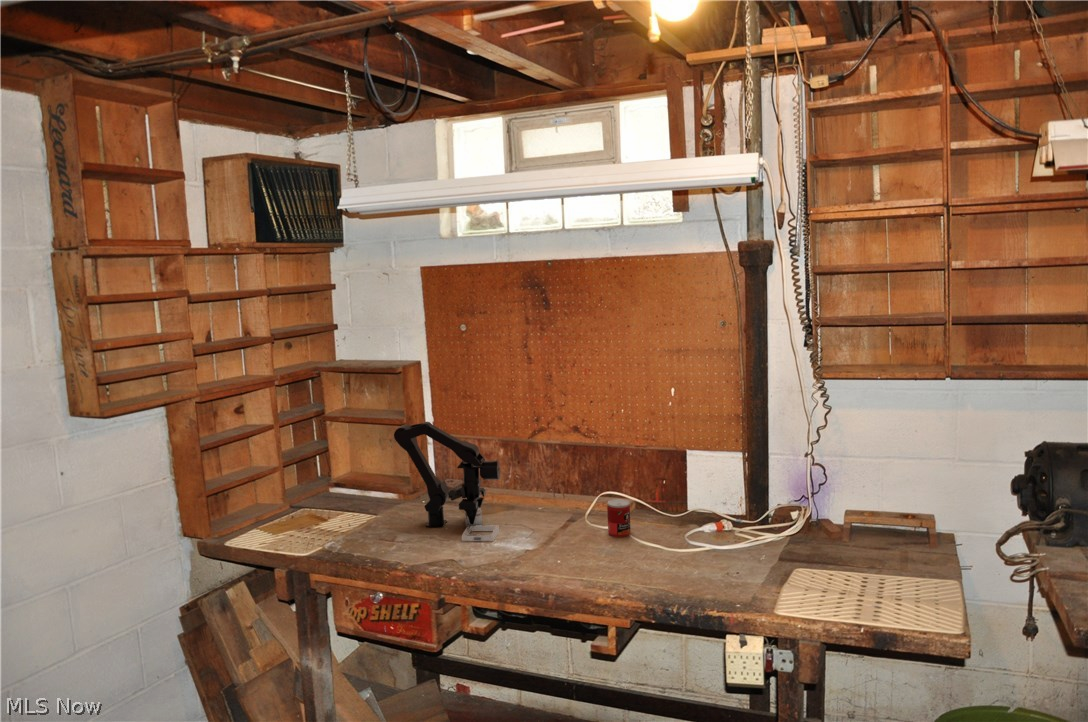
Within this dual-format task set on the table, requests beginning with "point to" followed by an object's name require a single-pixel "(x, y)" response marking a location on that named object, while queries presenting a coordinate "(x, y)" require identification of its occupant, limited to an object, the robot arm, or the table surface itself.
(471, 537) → the grey square frame
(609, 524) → the canned food
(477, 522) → the piston
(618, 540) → the table surface
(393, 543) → the table surface
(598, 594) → the table surface
